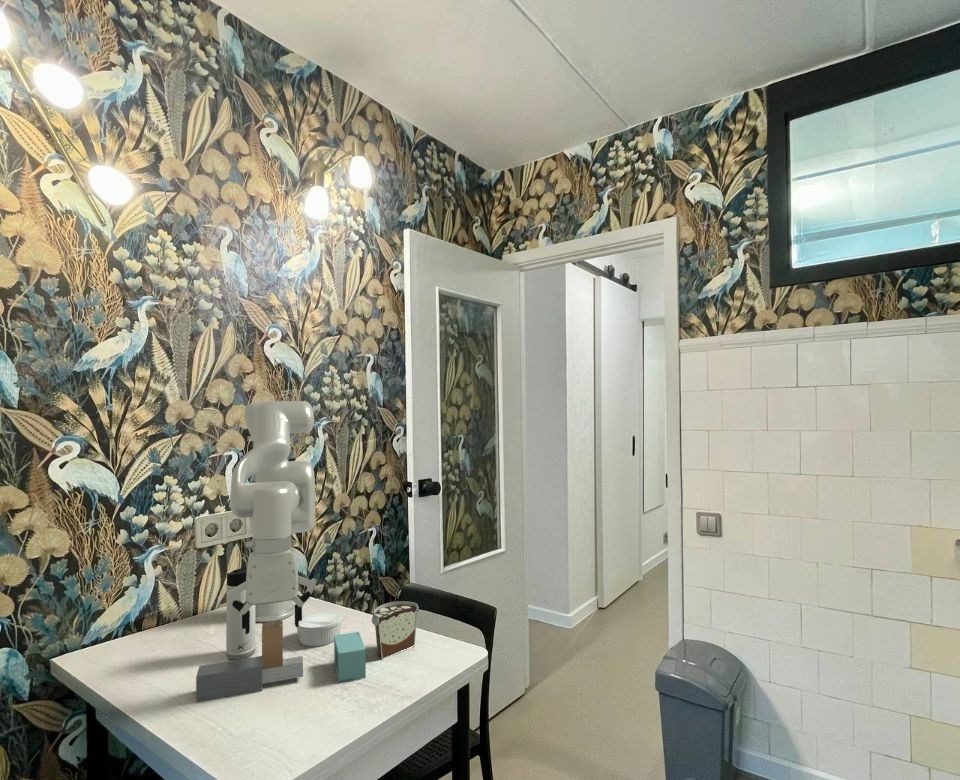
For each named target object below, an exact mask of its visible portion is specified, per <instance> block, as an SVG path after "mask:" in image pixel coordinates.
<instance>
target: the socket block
mask: <svg viewBox="0 0 960 780" xmlns="http://www.w3.org/2000/svg"><path fill="white" fill-rule="evenodd" d="M333 645H334V647H333V649H334V650H333V656H334V657H333V658H334V659H333V663H334V667H335V671H336V677H337V680H338V683H345V682H351V681H350V680H352V681H357V680H361V678H363V679H366V678H367V677H366V673H367V672H366V667H367V666H366V647H365V645H364V641H363V639H362V636H361V634H360V632H359V631H354V632H348V633H341V634H339V635H334V643H333ZM356 679H357V680H356Z"/></svg>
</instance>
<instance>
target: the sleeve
mask: <svg viewBox="0 0 960 780" xmlns="http://www.w3.org/2000/svg"><path fill="white" fill-rule="evenodd" d="M198 666H199V667H198V670H197V673H196V677H195V680H196V681H195V703H196V702H197V703H202V701H203V702H207V700H208V701H212V699H214V700H218V699H217V698H219V699H223V698H222V697H225V698H230V697H229V696H231V697H235V696H241V695H247V694H253V693H258V692H262V691H263V684H262V655H260V656H259V655H258V656H253V657H247V658H244V659H239V660H228V661H223V662H222V661H220V662H214V663H209V664H202V665H198Z"/></svg>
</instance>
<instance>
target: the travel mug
mask: <svg viewBox="0 0 960 780" xmlns="http://www.w3.org/2000/svg"><path fill="white" fill-rule="evenodd" d="M246 575H247V566H246V567H241V568H237V569H234V570H232V571H231V572H227V573H226V590H225V591H226V593H225V594H226V601H225V602H226V604H225V605H226V610H225V611H226V612H225V614H226V621H225V622H226V624H225V625H226V627H225V629H226V630H225V631H226V635H225V637H226V640H225V641H226V642H225V643H226V644H225V647H226V650H225V651H226V653H225V654H226V658H227V659H228V660H230V661H233V660H239V659H245V658H251V656H253V655H254V654H255V653H256V622H255V605H252V606H251V607H250V609H249V611H250V631H249V633H248V634H245V629H242V614H241V613H240V612H239V611H238V610H237V609H235V608H234V607H233V606H232V603H231V602H230V600H229V599H228V597H227V593H228V592H229V591H230V590H232V589H234V588H235V587H237V586H239V585H241V584H242V583H244V582H246ZM236 597H237V599H238V600H239V601H241V602H242V603H243V604H244V602H245V601H246V590H244V591H242V592H241V593H239V594H237V595H236Z"/></svg>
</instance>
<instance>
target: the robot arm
mask: <svg viewBox="0 0 960 780" xmlns="http://www.w3.org/2000/svg"><path fill="white" fill-rule="evenodd" d="M243 416H244V421H245V424H246V427H247V429H248V432H249V435H250V437H251V439H252V441H253V442H252V447H253V448H252V449H251V450H249V451H248V452H247V453H245V454H244V456H243V457H242V458H240V460H239V461H238V462H237V464H236V465H235V467H234V469H233V472H232V476H231V481H230V496H229V504H230V505H229V506H230V510H231V512H232V514H233V516H235V517H238V518H241V519H242V518H243V519H245V518H249V521H250V529H251V537H252V539H251V540H249V541H245V549H249V550H252V552H250V553H249V555H248V559H247V566H246V567H247V575H246V582H244V583H242V584H241V585H239V586H237V587H235V588H234V589H232V590H230V591H229V592H228V593H227V597H228V599H229V600H230V602H231V603H232V606H233V607H234V608H235V609H237V610H238V611H239V612H240V613H241V614H242V629H245V634H248V633H249V631H250V611H249V609H250V607H251V606H252V605H255V623H267V622H275V621H282V620H283V619H286V618H289V617H291V616H292V615H294V627H299V621H302V615H303V607H304V604H305V603H306V602H307V601H308V600H309V598H311V596H312V593H313V592H314V590H315V588H316V586H317V585H316V582H315V581H314V580H311V579H308V578H306V577H303V576H301V575H299V573H298V571H299V570H298V561H297V560H298V559H297V554H296V551H295V549H294V548H292V534H299V533H306V532H309V531H312V530H313V528H314V526H315V523H316V479H315V470H314V466H313V465H312V464H311V463H310V462H309V461H306V460H292V461H291V460H288V458H289V456H290V453H291V435H290V434H308V433H310V432H311V431H312V430H313V428H314V423H315V413H314V409H313V406H312V404H310V402H309V401H303V400H275V401H274V400H272V401H271V400H269V401H265V400H264V401H257V402H256V401H255V402H252V403H249V404H247V405H246V406H245V408H244V415H243ZM253 475H255V477H254V478H255V482H246V481H247V480H248V479H250V478H251V477H252V476H253ZM299 584H300V585H302V586H304V587H306V590H305V591H304V592H303V593H302V592H301V591H300V590H299ZM244 590H246V601H245V602H244V604H243V603H242V602H241V601H239V600H238V599H237V597H236V595H237V594H239V593H241V592H242V591H244ZM293 603H294V604H293Z"/></svg>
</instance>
